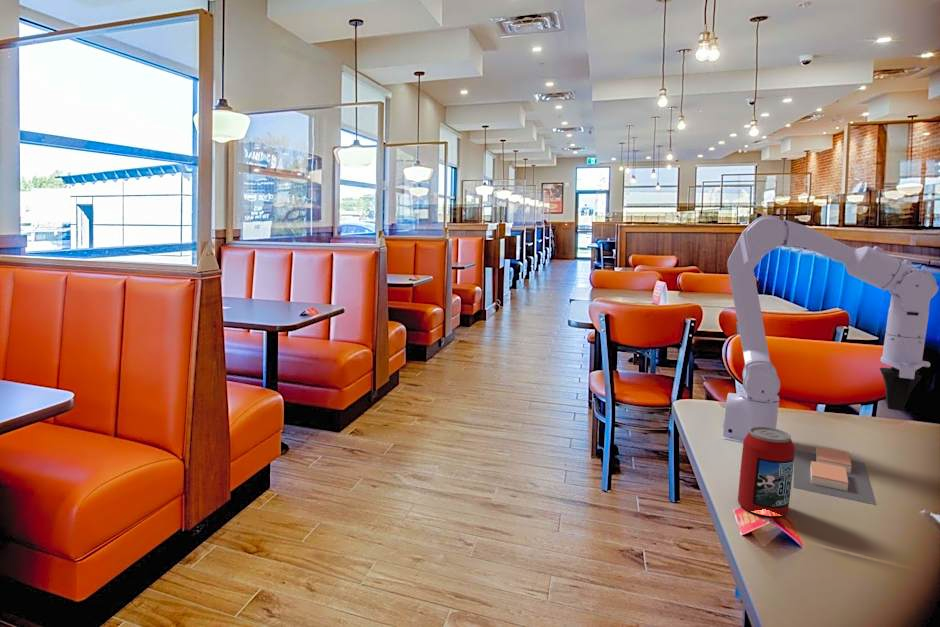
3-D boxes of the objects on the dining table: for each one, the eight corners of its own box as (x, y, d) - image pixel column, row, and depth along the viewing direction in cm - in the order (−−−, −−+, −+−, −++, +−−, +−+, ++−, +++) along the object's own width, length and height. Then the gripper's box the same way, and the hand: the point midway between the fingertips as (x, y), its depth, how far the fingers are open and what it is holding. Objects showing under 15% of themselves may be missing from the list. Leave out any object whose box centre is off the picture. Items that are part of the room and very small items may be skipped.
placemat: (793, 489, 93) (793, 487, 92) (794, 451, 109) (794, 449, 109) (875, 507, 87) (876, 504, 87) (863, 464, 104) (864, 462, 103)
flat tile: (816, 466, 101) (817, 458, 101) (815, 453, 107) (816, 446, 107) (850, 472, 99) (851, 465, 98) (847, 459, 105) (848, 452, 104)
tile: (812, 475, 94) (811, 460, 100) (811, 483, 94) (810, 468, 100) (848, 482, 91) (845, 467, 98) (847, 490, 92) (844, 475, 98)
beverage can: (767, 525, 81) (776, 444, 79) (727, 504, 87) (734, 428, 85) (797, 515, 84) (807, 437, 82) (756, 496, 90) (764, 422, 88)
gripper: (942, 344, 94) (930, 424, 96) (925, 331, 106) (915, 402, 108) (889, 339, 97) (879, 416, 99) (879, 327, 110) (870, 396, 112)
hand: (894, 409), depth 104 cm, fingers closed
